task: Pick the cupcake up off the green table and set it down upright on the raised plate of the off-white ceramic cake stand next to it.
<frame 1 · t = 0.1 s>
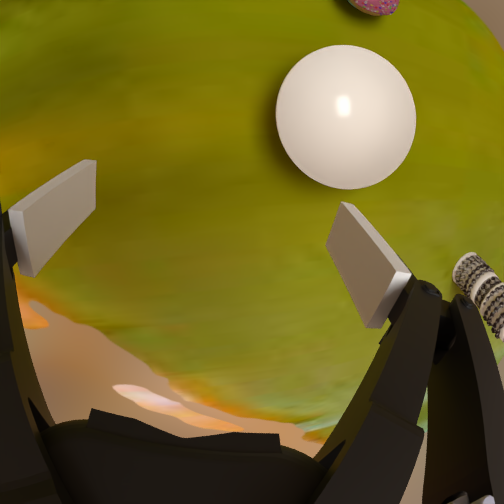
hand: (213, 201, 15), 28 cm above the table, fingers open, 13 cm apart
cake stand: (331, 111, 38), on the table
decorative candle: (465, 267, 54), on the table
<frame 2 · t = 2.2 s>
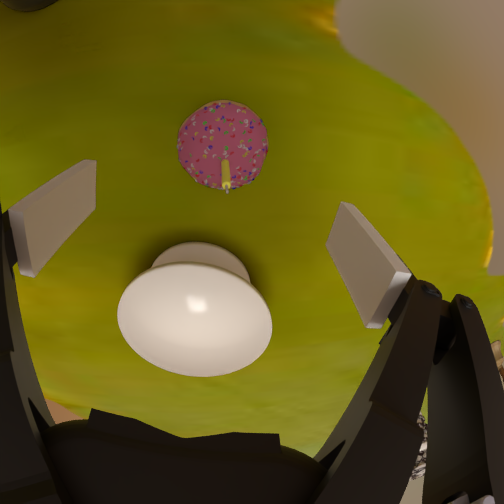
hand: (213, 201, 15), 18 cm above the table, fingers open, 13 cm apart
cake stand: (198, 286, 40), on the table
hand bell: (489, 350, 59), on the table
decorative candle: (385, 377, 57), on the table
cupcake: (224, 137, 30), on the table
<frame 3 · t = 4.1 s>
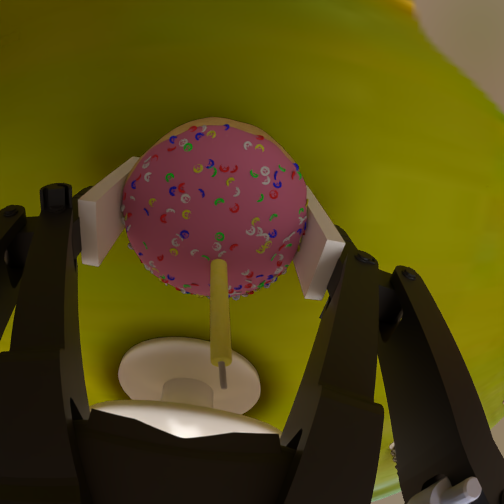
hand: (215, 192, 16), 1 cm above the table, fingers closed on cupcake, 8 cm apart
cake stand: (188, 383, 27), on the table
cupcake: (219, 183, 17), on the table, touching gripper
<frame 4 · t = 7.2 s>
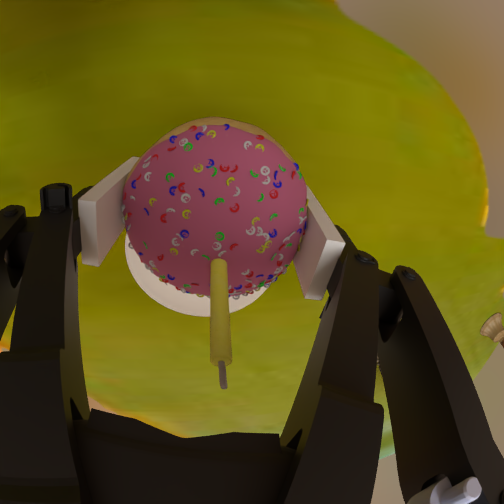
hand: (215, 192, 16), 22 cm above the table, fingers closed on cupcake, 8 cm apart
cake stand: (205, 225, 41), on the table
hand bell: (490, 323, 61), on the table
cupcake: (219, 183, 17), point 20 cm above the table, touching gripper
when the fingers open (12 cm above the table, at t = 10.6 s): cupcake drops 2 cm, resting on cake stand.
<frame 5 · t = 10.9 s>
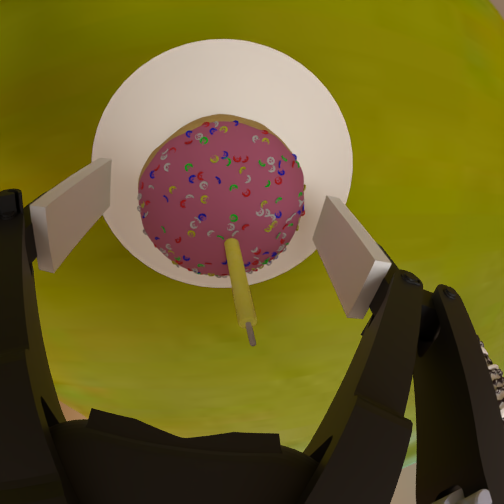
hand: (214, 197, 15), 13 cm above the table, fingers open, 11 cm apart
cake stand: (223, 150, 26), on the table
decorative candle: (447, 332, 42), on the table
cupcake: (218, 174, 19), point 9 cm above the table, touching cake stand
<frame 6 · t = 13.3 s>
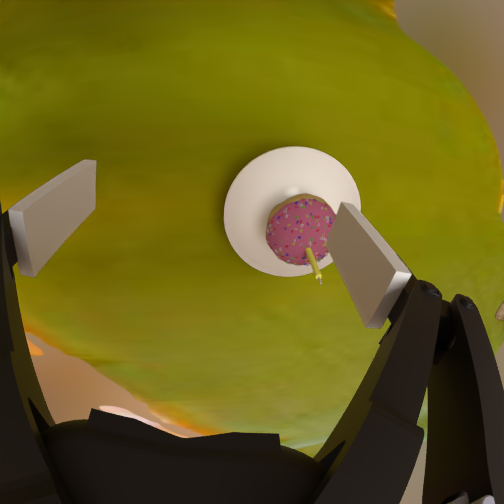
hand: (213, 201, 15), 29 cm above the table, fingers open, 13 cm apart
cake stand: (284, 196, 45), on the table
hand bell: (503, 308, 64), on the table
cupcake: (294, 215, 38), point 8 cm above the table, touching cake stand
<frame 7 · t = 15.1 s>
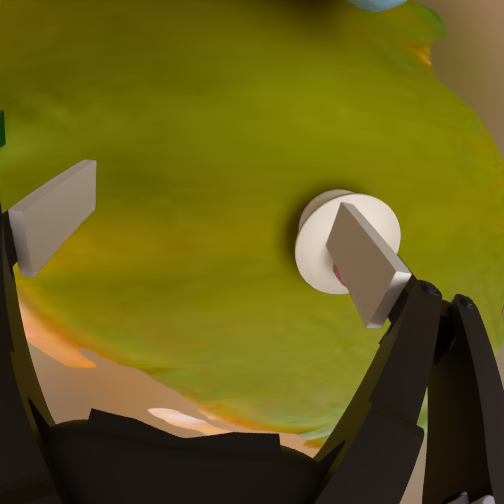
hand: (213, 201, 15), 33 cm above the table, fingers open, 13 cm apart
cake stand: (335, 225, 53), on the table
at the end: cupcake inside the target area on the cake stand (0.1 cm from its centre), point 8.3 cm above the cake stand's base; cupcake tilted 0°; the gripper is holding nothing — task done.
